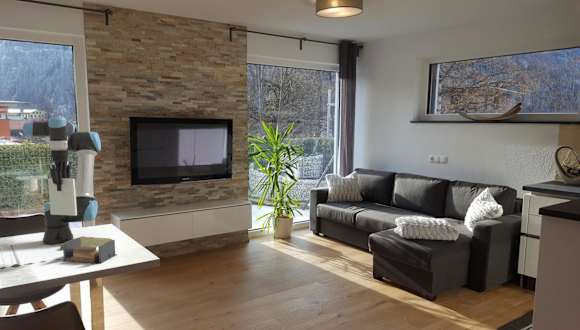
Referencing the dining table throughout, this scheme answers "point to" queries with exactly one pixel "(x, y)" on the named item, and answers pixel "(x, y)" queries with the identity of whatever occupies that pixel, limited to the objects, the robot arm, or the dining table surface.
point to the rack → (104, 251)
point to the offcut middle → (87, 255)
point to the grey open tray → (90, 241)
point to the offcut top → (84, 249)
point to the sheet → (63, 204)
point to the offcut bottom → (84, 259)
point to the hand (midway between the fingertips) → (62, 197)
